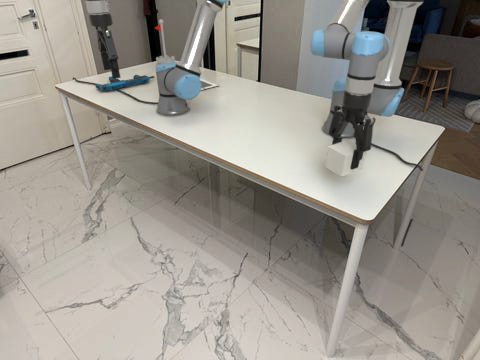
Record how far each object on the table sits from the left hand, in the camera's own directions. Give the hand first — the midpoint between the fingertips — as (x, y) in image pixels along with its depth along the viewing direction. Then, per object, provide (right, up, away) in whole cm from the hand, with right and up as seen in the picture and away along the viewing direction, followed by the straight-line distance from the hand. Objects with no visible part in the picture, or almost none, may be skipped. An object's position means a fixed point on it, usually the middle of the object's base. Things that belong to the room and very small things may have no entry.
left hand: (112, 73), depth 132 cm
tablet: (+19, +18, +75) cm, 80 cm away
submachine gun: (-21, +18, +75) cm, 80 cm away
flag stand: (-3, +40, +110) cm, 117 cm away
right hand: (+83, -36, -24) cm, 94 cm away
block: (+83, -38, -23) cm, 94 cm away
